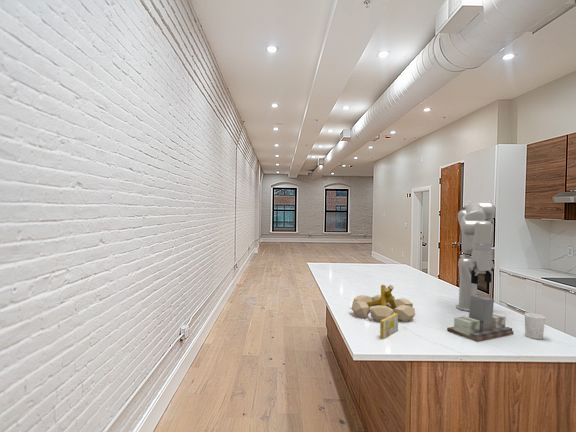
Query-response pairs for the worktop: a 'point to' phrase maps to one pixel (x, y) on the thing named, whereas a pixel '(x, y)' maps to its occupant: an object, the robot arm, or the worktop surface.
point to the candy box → (388, 326)
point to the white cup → (534, 325)
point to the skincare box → (482, 311)
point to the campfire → (383, 306)
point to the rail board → (471, 327)
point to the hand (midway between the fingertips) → (481, 282)
